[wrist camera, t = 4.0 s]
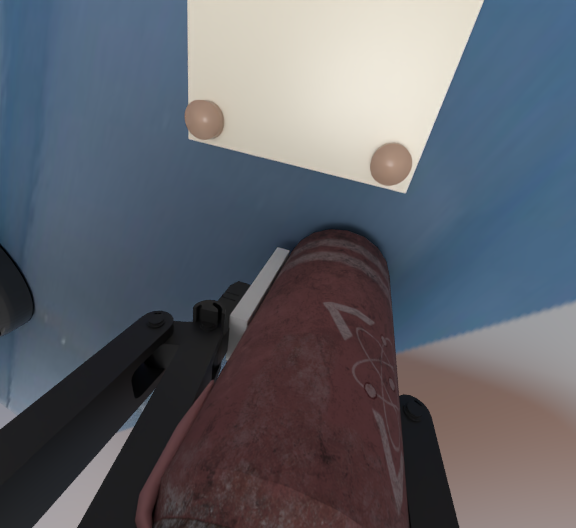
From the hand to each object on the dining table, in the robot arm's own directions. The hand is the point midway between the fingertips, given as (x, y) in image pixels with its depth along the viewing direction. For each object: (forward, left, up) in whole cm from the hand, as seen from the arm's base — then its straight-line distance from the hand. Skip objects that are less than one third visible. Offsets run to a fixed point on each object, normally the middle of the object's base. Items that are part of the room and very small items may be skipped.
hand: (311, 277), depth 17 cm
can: (+1, 0, -1) cm, 2 cm away
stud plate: (-3, +12, -2) cm, 12 cm away
